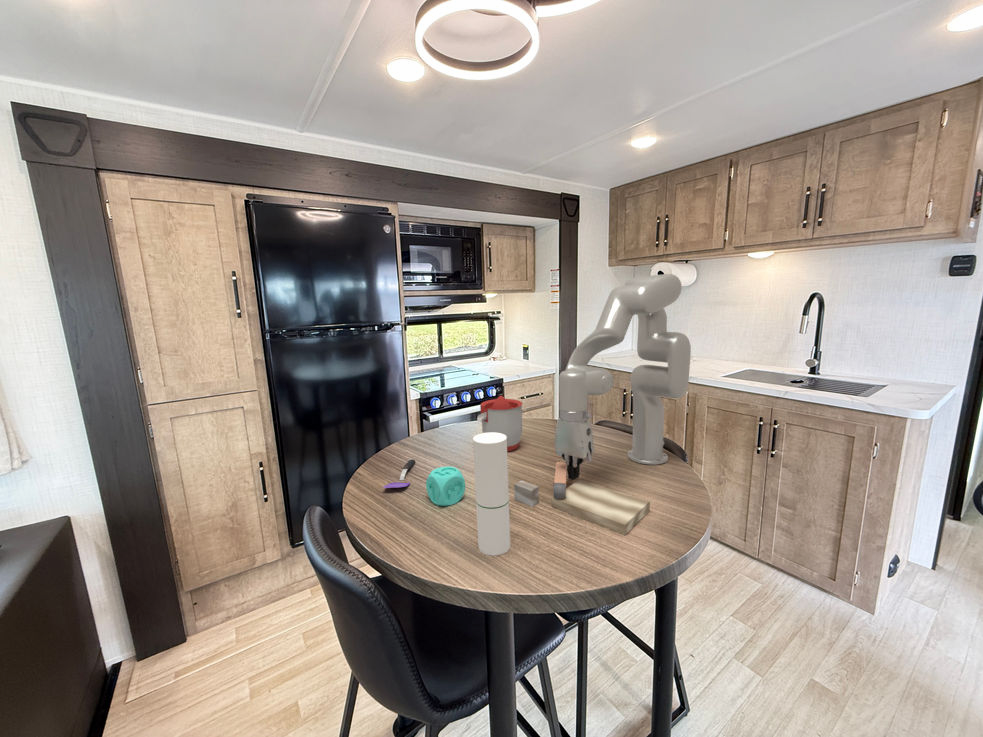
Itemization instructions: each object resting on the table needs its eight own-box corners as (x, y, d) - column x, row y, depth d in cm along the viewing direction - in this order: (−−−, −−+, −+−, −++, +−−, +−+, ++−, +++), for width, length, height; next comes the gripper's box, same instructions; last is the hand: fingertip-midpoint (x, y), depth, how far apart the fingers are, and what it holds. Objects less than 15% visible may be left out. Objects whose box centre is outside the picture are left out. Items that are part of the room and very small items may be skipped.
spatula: (403, 462, 137) (403, 455, 137) (423, 462, 137) (422, 455, 136) (382, 495, 113) (381, 487, 113) (405, 494, 113) (404, 486, 113)
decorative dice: (426, 499, 109) (424, 472, 108) (450, 489, 114) (448, 463, 113) (442, 509, 103) (440, 481, 102) (466, 499, 108) (465, 472, 107)
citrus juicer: (471, 445, 150) (469, 394, 147) (511, 437, 157) (509, 389, 154) (488, 459, 136) (486, 403, 133) (531, 449, 143) (530, 396, 140)
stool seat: (551, 478, 119) (551, 464, 118) (649, 510, 98) (649, 493, 98) (514, 499, 107) (514, 484, 106) (618, 541, 86) (618, 522, 85)
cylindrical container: (509, 535, 90) (505, 431, 86) (511, 554, 83) (507, 442, 79) (478, 537, 90) (473, 433, 86) (478, 556, 83) (472, 444, 79)
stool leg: (565, 499, 100) (565, 488, 99) (553, 498, 101) (553, 487, 100) (567, 471, 116) (567, 462, 116) (556, 471, 117) (556, 461, 117)
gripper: (604, 416, 105) (604, 480, 108) (557, 408, 115) (558, 467, 118) (590, 423, 99) (590, 490, 102) (542, 413, 110) (543, 475, 112)
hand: (573, 477), depth 110 cm, fingers closed
